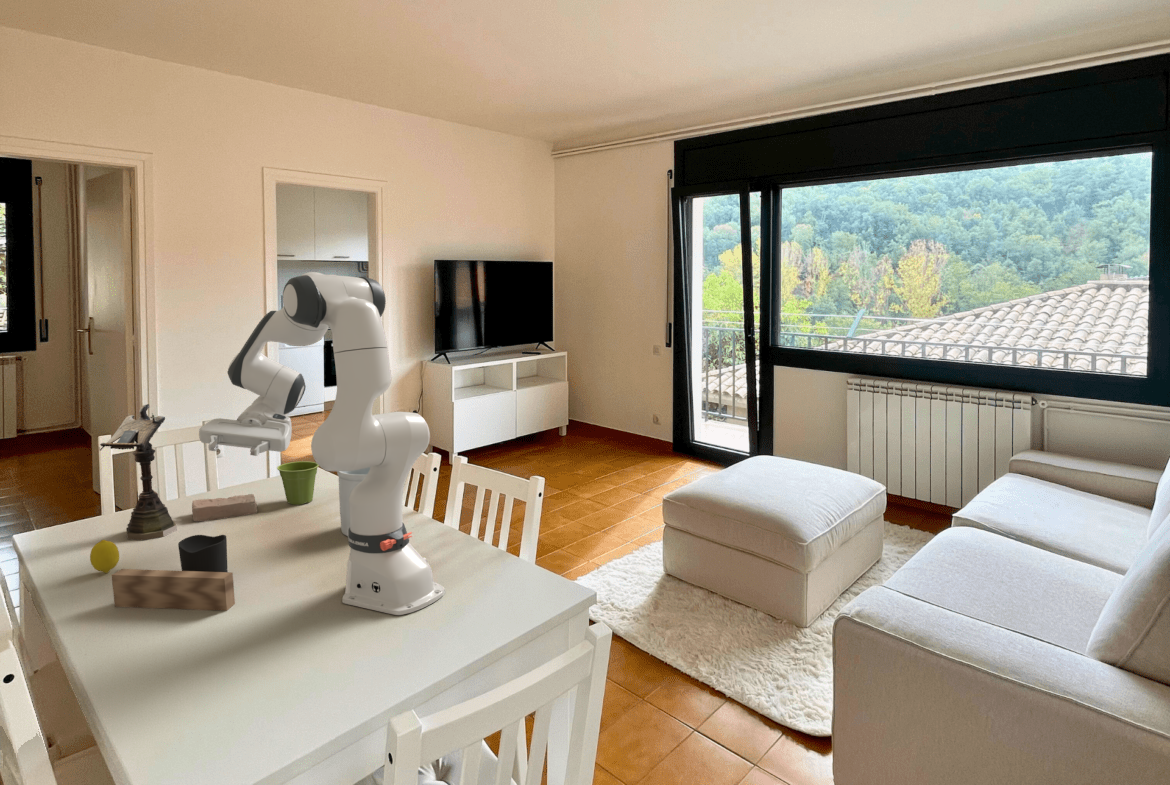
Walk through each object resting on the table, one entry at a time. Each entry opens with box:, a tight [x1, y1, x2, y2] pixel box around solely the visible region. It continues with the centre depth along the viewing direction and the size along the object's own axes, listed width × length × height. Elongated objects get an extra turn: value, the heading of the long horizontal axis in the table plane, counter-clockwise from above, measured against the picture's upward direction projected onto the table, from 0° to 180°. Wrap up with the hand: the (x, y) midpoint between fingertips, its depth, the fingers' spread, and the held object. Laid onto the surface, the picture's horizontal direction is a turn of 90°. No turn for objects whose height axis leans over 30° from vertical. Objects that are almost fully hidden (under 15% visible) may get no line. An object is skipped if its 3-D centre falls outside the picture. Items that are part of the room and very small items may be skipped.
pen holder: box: [177, 534, 228, 572], centre depth 155 cm, size 9×9×10 cm
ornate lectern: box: [99, 403, 178, 541], centre depth 181 cm, size 17×13×35 cm
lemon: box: [89, 539, 120, 574], centre depth 160 cm, size 6×6×8 cm
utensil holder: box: [336, 467, 371, 537], centre depth 189 cm, size 15×15×18 cm
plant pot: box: [276, 460, 320, 506], centre depth 212 cm, size 12×12×11 cm
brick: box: [191, 493, 258, 522], centre depth 201 cm, size 16×8×5 cm, turn 120°
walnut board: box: [111, 568, 236, 611], centre depth 145 cm, size 24×3×7 cm, turn 87°
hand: (232, 450), depth 162 cm, fingers open, 8 cm apart
